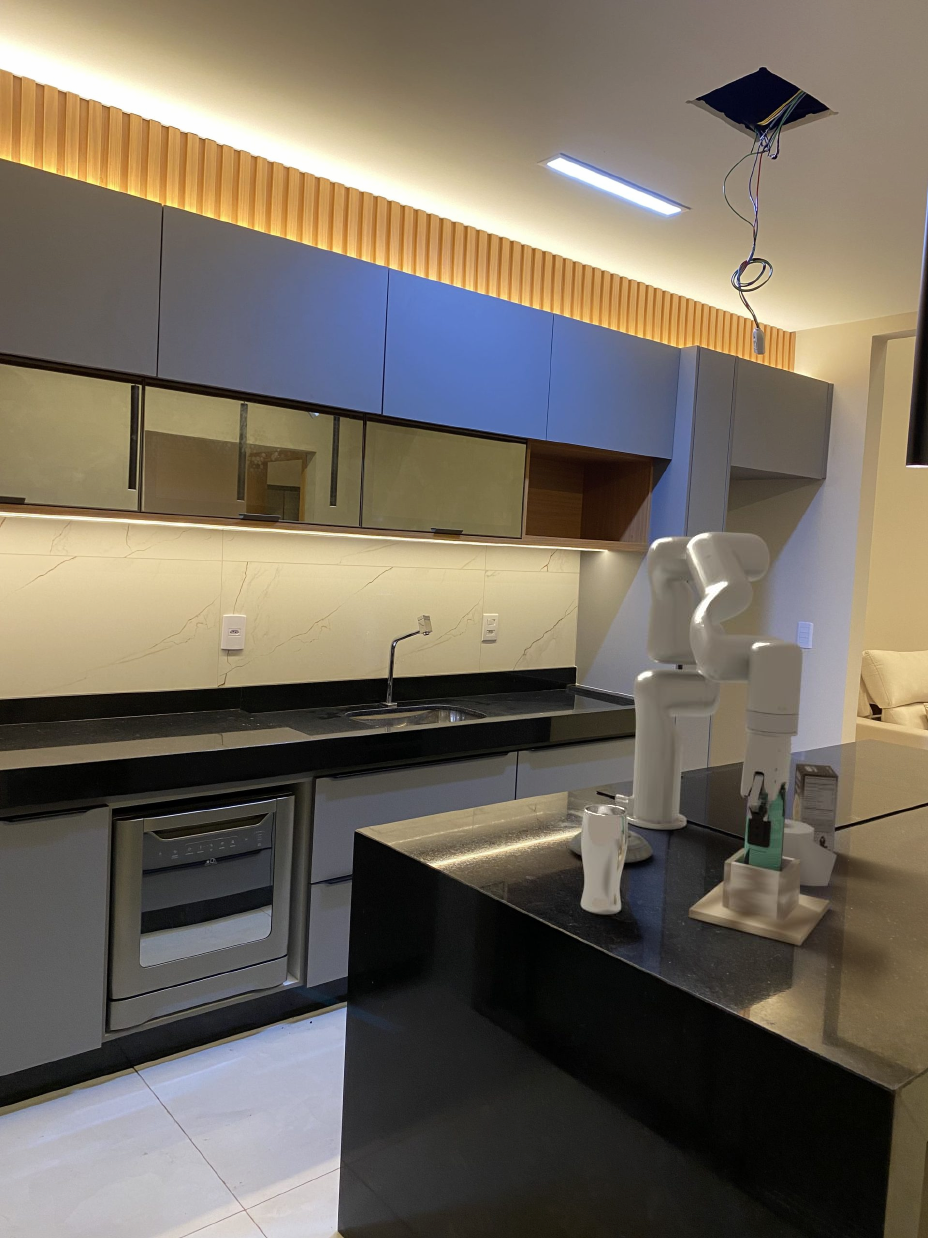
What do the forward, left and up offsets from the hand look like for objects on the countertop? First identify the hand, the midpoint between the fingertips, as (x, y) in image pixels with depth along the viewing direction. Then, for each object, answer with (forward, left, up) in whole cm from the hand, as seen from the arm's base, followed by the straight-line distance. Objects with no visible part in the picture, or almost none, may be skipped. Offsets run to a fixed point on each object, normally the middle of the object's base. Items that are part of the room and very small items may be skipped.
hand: (764, 839), depth 136 cm
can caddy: (0, 0, -11) cm, 11 cm away
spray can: (0, 0, -9) cm, 9 cm away
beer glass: (-20, -14, -11) cm, 27 cm away
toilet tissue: (-1, +21, -11) cm, 24 cm away
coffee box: (-1, +37, -11) cm, 39 cm away
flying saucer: (-30, +11, -12) cm, 34 cm away
